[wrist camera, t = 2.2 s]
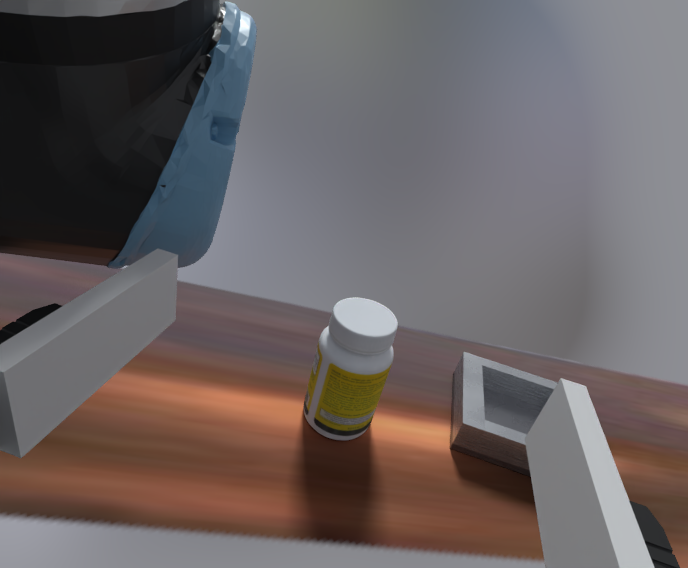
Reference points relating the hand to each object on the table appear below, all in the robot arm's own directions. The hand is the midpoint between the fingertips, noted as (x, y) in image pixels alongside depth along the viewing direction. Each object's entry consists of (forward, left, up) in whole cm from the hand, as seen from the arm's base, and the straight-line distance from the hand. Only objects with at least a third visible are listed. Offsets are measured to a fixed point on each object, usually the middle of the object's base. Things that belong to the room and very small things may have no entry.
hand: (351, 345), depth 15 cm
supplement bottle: (0, +10, -14) cm, 17 cm away
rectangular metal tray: (+13, +15, -14) cm, 24 cm away
